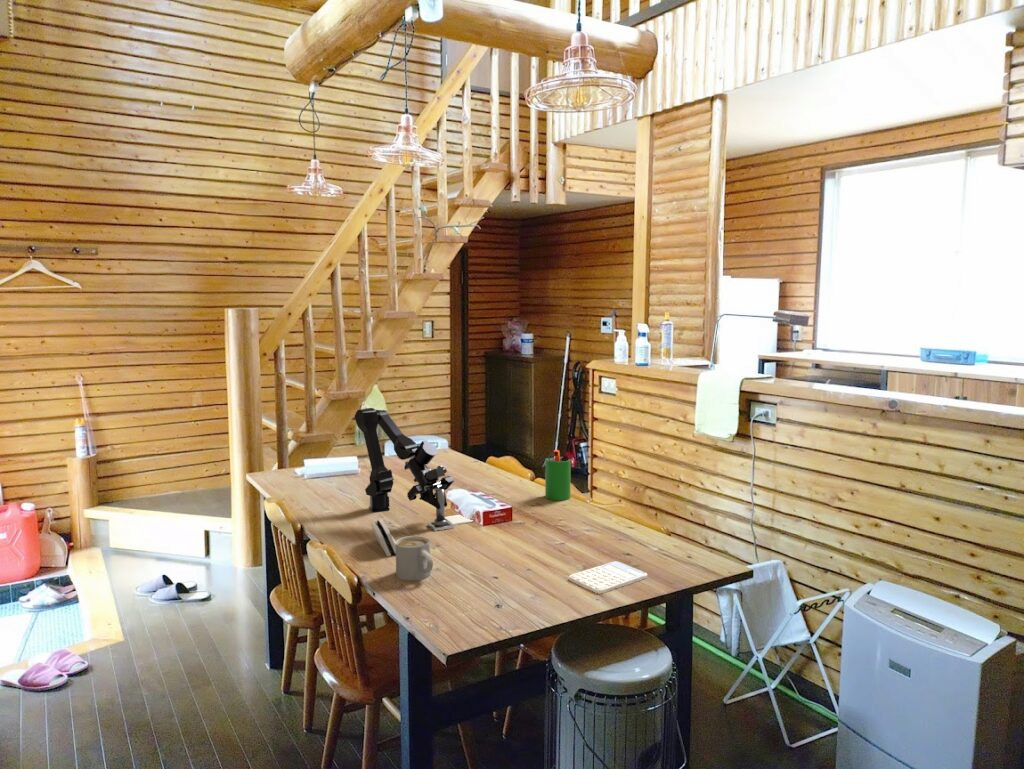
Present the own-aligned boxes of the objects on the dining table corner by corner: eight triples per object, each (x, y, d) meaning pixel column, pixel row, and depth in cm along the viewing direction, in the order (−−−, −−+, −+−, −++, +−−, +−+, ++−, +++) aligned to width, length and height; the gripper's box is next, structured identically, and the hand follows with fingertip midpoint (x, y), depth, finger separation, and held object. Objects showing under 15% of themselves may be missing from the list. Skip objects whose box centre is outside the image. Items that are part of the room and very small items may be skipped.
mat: (452, 525, 252) (452, 523, 252) (443, 518, 260) (443, 517, 260) (476, 521, 256) (476, 520, 256) (466, 514, 264) (466, 513, 264)
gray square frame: (434, 531, 246) (434, 528, 246) (427, 525, 252) (427, 522, 252) (453, 528, 249) (453, 525, 249) (446, 522, 255) (446, 519, 255)
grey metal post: (437, 529, 248) (436, 492, 246) (432, 525, 251) (431, 489, 250) (448, 527, 250) (448, 490, 248) (444, 524, 253) (443, 487, 252)
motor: (570, 494, 290) (570, 447, 288) (570, 501, 281) (570, 451, 279) (545, 494, 291) (545, 446, 289) (544, 500, 282) (544, 451, 280)
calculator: (566, 581, 204) (566, 574, 204) (616, 565, 216) (616, 559, 215) (598, 596, 193) (598, 590, 193) (649, 579, 205) (649, 572, 205)
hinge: (403, 554, 224) (391, 527, 221) (389, 561, 222) (377, 533, 220) (392, 537, 239) (381, 512, 237) (379, 544, 238) (368, 518, 235)
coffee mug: (390, 572, 209) (389, 540, 208) (420, 565, 215) (420, 533, 213) (410, 587, 198) (409, 553, 197) (441, 579, 204) (441, 546, 202)
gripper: (412, 463, 243) (435, 500, 237) (450, 454, 257) (472, 488, 252) (397, 482, 249) (419, 518, 243) (435, 471, 263) (457, 506, 258)
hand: (443, 507), depth 249 cm, fingers closed on grey metal post, 3 cm apart
